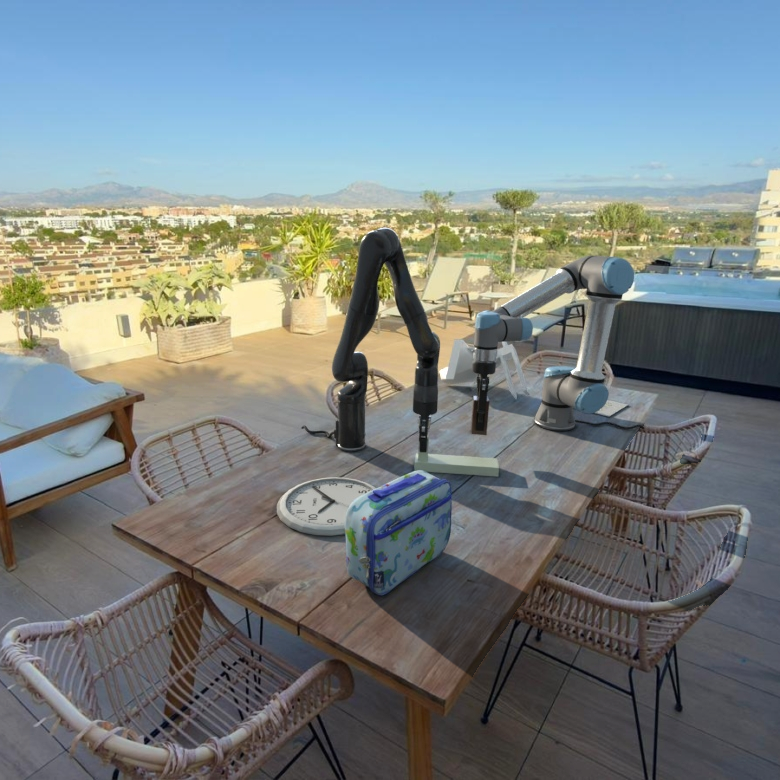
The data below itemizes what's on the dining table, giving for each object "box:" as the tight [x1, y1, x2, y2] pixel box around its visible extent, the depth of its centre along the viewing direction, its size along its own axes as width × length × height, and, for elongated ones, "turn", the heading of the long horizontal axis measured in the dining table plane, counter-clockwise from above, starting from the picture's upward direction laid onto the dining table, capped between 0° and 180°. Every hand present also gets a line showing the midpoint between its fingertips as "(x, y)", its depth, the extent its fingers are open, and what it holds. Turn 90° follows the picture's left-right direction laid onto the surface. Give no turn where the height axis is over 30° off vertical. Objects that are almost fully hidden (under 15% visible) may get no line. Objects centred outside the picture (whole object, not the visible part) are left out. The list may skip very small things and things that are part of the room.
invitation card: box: [594, 399, 629, 418], centre depth 226 cm, size 21×1×15 cm
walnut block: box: [470, 395, 490, 436], centre depth 175 cm, size 5×5×12 cm
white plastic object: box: [438, 338, 531, 400], centre depth 245 cm, size 37×45×31 cm
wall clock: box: [276, 476, 377, 537], centre depth 142 cm, size 30×2×30 cm
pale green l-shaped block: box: [413, 433, 500, 478], centre depth 164 cm, size 26×7×11 cm, turn 83°
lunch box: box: [344, 470, 453, 596], centre depth 114 cm, size 26×11×21 cm, turn 135°
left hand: (423, 448), depth 165 cm, fingers closed on pale green l-shaped block, 4 cm apart
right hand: (479, 427), depth 176 cm, fingers closed on walnut block, 5 cm apart
